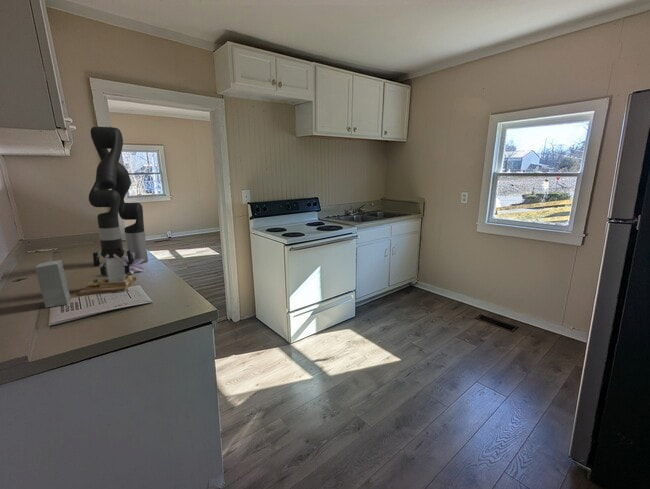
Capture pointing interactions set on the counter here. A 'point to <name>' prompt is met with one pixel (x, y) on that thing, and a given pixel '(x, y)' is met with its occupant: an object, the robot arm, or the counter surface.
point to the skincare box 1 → (53, 283)
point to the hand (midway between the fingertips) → (115, 274)
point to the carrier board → (109, 286)
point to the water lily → (133, 266)
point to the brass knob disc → (94, 283)
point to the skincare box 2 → (114, 270)
